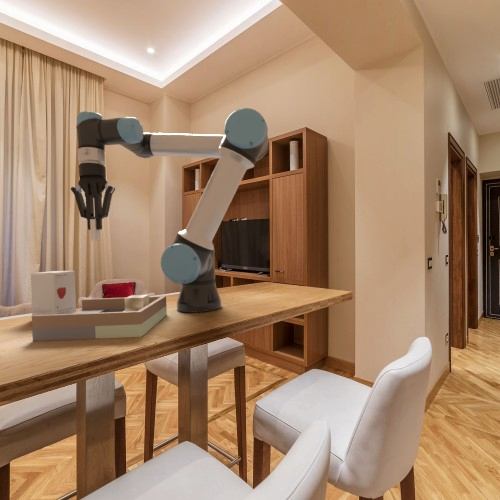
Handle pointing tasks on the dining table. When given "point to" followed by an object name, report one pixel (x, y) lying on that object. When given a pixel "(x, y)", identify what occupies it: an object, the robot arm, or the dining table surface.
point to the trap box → (100, 320)
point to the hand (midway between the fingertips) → (95, 240)
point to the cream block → (136, 302)
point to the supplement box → (53, 292)
